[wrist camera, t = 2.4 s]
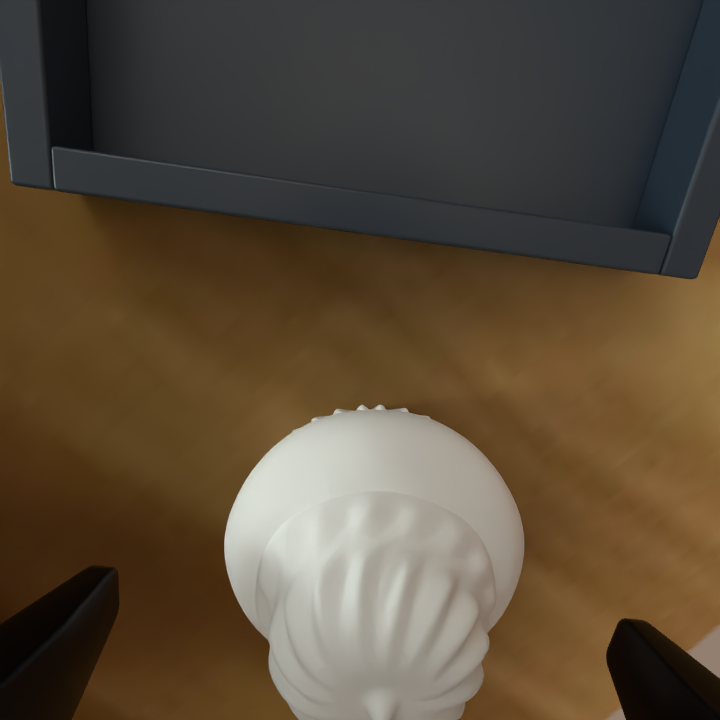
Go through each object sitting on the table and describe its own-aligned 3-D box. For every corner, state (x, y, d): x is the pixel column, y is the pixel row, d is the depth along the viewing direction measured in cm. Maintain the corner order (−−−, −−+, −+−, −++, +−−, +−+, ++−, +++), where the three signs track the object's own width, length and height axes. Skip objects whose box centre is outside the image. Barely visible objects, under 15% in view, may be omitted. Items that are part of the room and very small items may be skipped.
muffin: (268, 550, 14) (186, 867, 7) (250, 359, 12) (113, 550, 5) (472, 547, 14) (578, 861, 7) (486, 355, 12) (653, 542, 5)
